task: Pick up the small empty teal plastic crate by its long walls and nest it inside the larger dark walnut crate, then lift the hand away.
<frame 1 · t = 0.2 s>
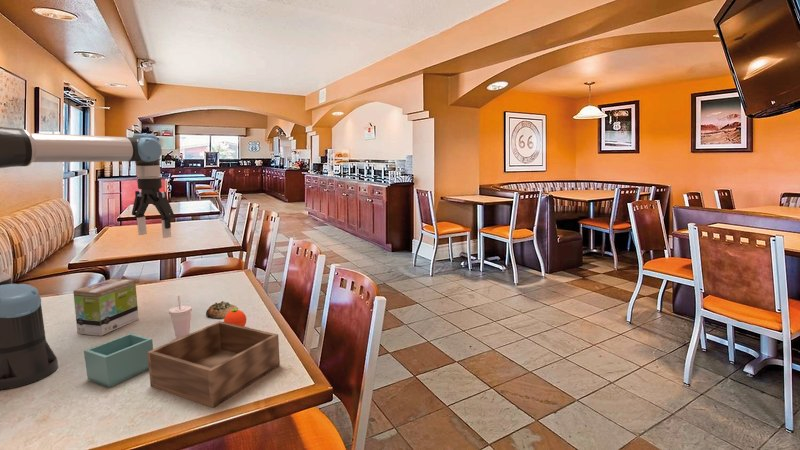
hand: (154, 236, 157), 28 cm above the table, fingers open, 13 cm apart
walnut crate: (218, 375, 112), on the table
tea box: (109, 327, 145), on the table
smoothie: (183, 338, 135), on the table
teal crate: (122, 373, 113), on the table
bread roll: (222, 314, 156), on the table
clementine: (235, 330, 141), on the table
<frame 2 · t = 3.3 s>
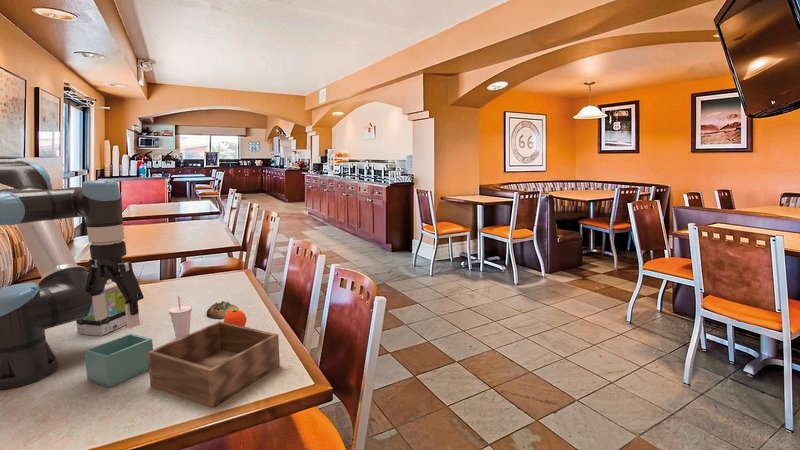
hand: (117, 322, 111), 14 cm above the table, fingers open, 13 cm apart
nothing on the table moved.
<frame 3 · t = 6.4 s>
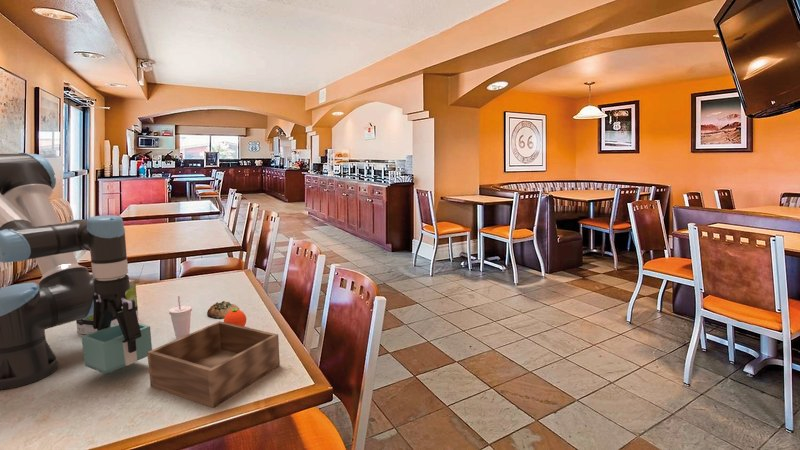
hand: (119, 358, 113), 4 cm above the table, fingers closed on teal crate, 9 cm apart
teal crate: (119, 359, 113), point 4 cm above the table, touching gripper
everything else where it was.
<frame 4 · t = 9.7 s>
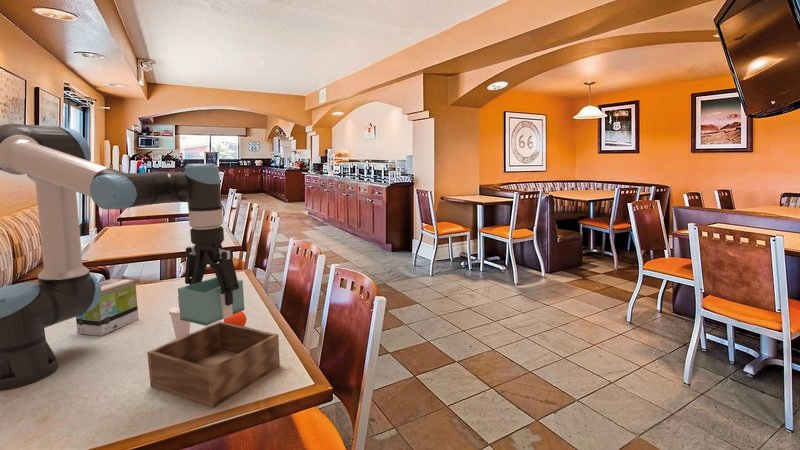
hand: (213, 313, 109), 17 cm above the table, fingers closed on teal crate, 9 cm apart
teal crate: (213, 314, 109), point 17 cm above the table, touching gripper
everything else where it was.
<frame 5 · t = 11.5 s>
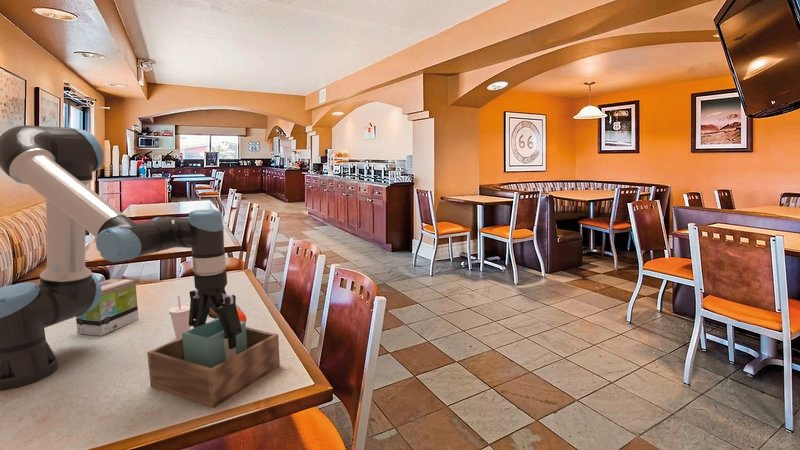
hand: (217, 356, 111), 5 cm above the table, fingers closed on teal crate, 9 cm apart
teal crate: (217, 356, 111), point 5 cm above the table, touching gripper
everything else where it was.
when the fingers open (3 cm above the table, at t = 13.0 s): teal crate drops 2 cm, resting on walnut crate.
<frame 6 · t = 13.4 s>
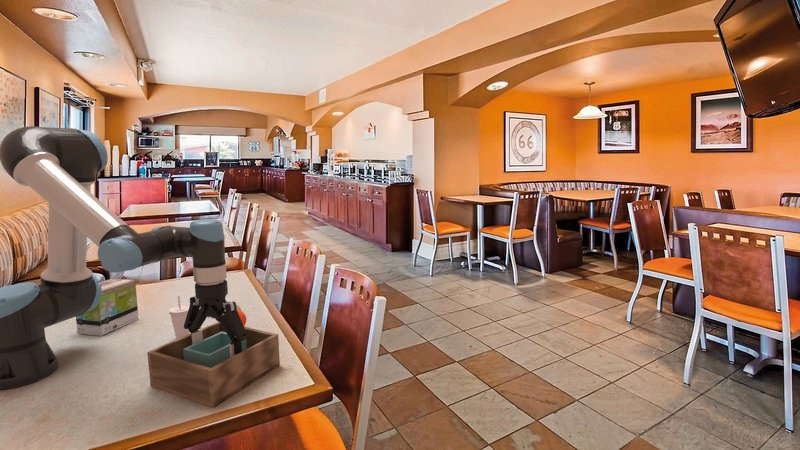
hand: (217, 360, 111), 4 cm above the table, fingers open, 13 cm apart
teal crate: (217, 371, 111), point 1 cm above the table, touching walnut crate
everything else where it was.
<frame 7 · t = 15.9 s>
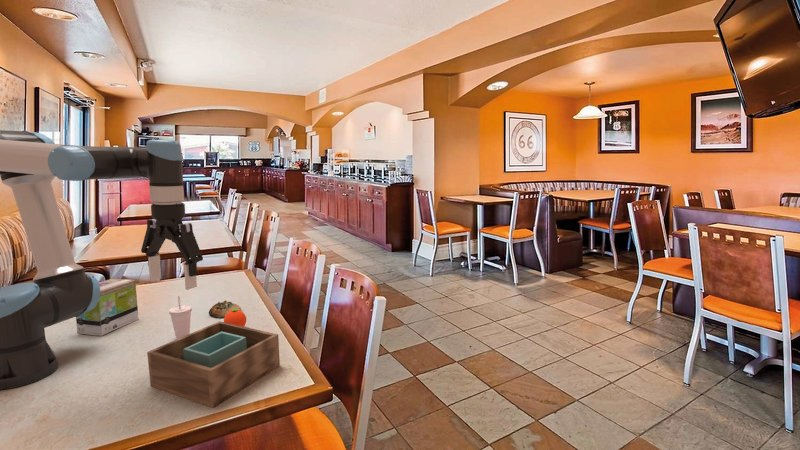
hand: (173, 284, 111), 24 cm above the table, fingers open, 13 cm apart
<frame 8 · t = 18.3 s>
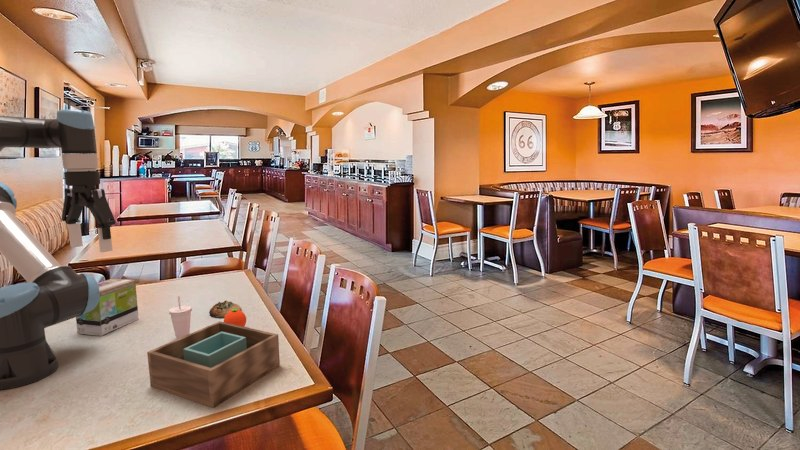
hand: (91, 249, 116), 32 cm above the table, fingers open, 13 cm apart
at the end: teal crate inside the target area on the walnut crate (0.1 cm from its centre), point 1.0 cm above the walnut crate's base; teal crate tilted 0°; the gripper is holding nothing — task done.
